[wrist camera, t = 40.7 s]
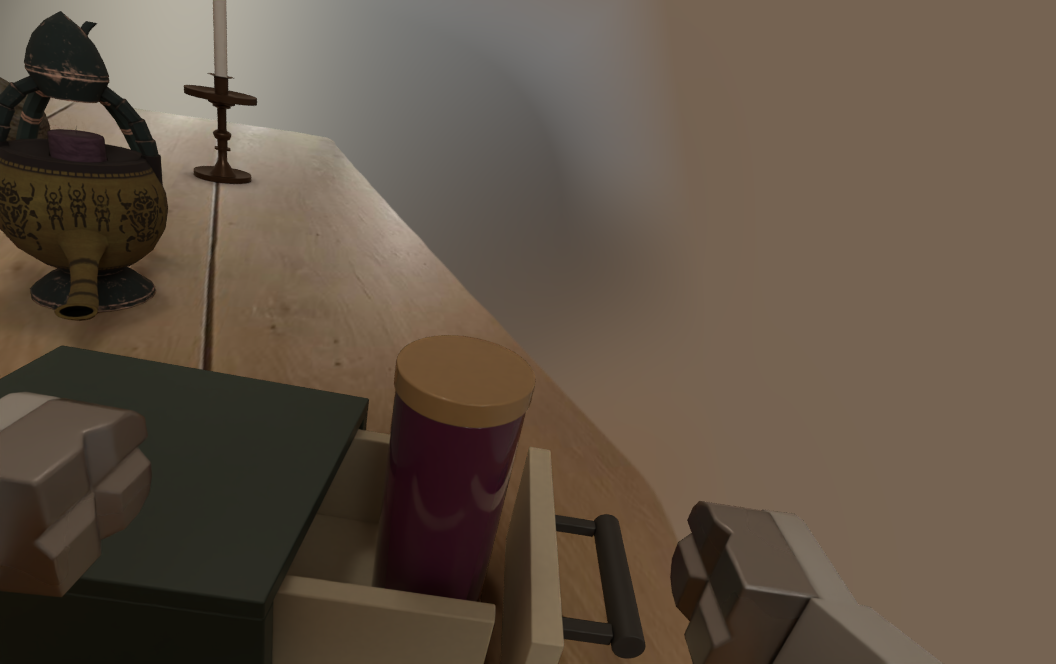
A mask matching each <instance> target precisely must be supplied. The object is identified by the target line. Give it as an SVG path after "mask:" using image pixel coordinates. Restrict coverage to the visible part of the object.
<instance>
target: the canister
mask: <svg viewBox="0 0 1056 664" xmlns="http://www.w3.org/2000/svg"><path fill="white" fill-rule="evenodd" d="M535 382H536V379H535V374H534V372H533V369H532V368H531V366H530V365H529V364H528V363H527V362H526V361H525V360H524V359H523V358H522V357H520V356H519V355H518V354H516V353H514V352H513V351H511V350H509V349H507V348H505V347H503V346H500V345H498V344H495V343H492V342H489V341H486V340H482V339H478V338H473V337H466V336H455V335H441V336H432V337H426V338H422V339H419V340H416V341H413V342H412V343H410V344H408V345H406V346H405V347H404V348H403V349H402V350H401V351H400V353H399V354H398V356H397V360H396V367H395V375H394V386H395V397H394V405H393V413H392V421H391V429H390V437H389V445H388V453H387V461H386V469H385V477H384V485H383V493H382V501H381V510H380V518H379V526H378V534H377V542H376V550H375V558H374V566H373V574H372V582H371V587H377V588H384V589H391V590H398V591H405V592H412V593H419V594H426V595H433V596H440V597H447V598H454V599H461V600H468V601H475V602H480V598H481V594H482V590H483V586H484V582H485V578H486V574H487V570H488V566H489V561H490V557H491V553H492V549H493V545H494V541H495V537H496V533H497V529H498V525H499V520H500V516H501V512H502V508H503V504H504V500H505V496H506V492H507V488H508V483H509V479H510V475H511V471H512V467H513V463H514V459H515V455H516V451H517V447H518V442H519V438H520V434H521V430H522V426H523V422H524V418H525V414H526V411H527V410H528V408H529V406H530V403H531V400H532V396H533V392H534V388H535Z"/></svg>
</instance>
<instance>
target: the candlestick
mask: <svg viewBox="0 0 1056 664" xmlns="http://www.w3.org/2000/svg"><path fill="white" fill-rule="evenodd" d="M213 20H214V21H213V23H214V24H213V25H214V62H215V63H214V65H215V74H212V73H209V74H211V75H213V76H214V88H211V87H204V86H196V85H184V93H186V94H188V95H191V96H195V97H198V98H203V99H207V100H208V101H209V102H211V103H212V104H213V106H215V107H217V114H218V129H217V130H215V131H214V132H213V135H214V137H215V138H216V139H217V142H218V146H215V149H216V150H218V159H219V160H218V162H217V163H216V164H215V166H200V167H195V168H194V175H195V176H196V177H198V178H200V179H204V180H208V181H213V182H219V183H230V184H243V183H249V182H251V174H249V173H247V172H245V171H241V170H237V169H233V168H231V166H230V165H229V163H228V162H227V151H230V148H228V147H227V140H230V138H231V133H229V132H228V131H227V129H226V109H230V108H231V106H235V104H238V105H248V106H254V105H255V106H256V105H257V98H255V97H253V96H250V95H246V94H242V93H238V92H233V91H228V79H231V78H233V77H228V76H227V30H226V29H227V25H226V24H227V22H226V0H213Z"/></svg>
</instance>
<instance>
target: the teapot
mask: <svg viewBox="0 0 1056 664" xmlns="http://www.w3.org/2000/svg"><path fill="white" fill-rule="evenodd" d="M96 24H97V23H93V22H87V21H86V22H85V23H84V24H83V25H82V27H81V28H80V27H79V26H78V25H77V24H75V23H74V22H73V21H72V20H71V19H69V18H68V17H67V16H66V15H65V14H63V13H62V12H61V11H60V12H58V13H56V14H54V15H52V16H51V17H49V18H47V19H45V20H44V21H43V22H42V23H41V24H40V25H39V26H38V27H37V28H36V29H35V31H34V32H33V33H32V34H31V37H30V40H29V42H28V45H27V48H26V53H25V59H24V63H25V69H26V70H27V72H28V73H29V75H30V76H28V77H26V78H23V79H21V80H19V81H17V82H15V83H13V82H10V83H9V85H8V86H7V87H6V88H5V89H4V91H3V92H2V93H1V94H0V229H1V230H2V231H3V232H4V233H5V235H6V236H7V237H8V238H9V239H10V240H11V241H12V242H13V243H14V244H15V245H16V246H17V247H18V248H19V249H21V250H23V251H24V252H26V253H28V254H29V255H31V256H33V257H35V258H36V259H38V260H40V261H42V262H43V263H45V264H47V265H50V266H53V267H57V269H55V270H53V271H51V272H50V273H48V274H47V275H45V276H44V277H43V278H41V279H40V280H38V281H37V282H36V283H35V284H34V285H33V286H32V287H31V288H30V291H31V296H32V300H34V301H35V302H36V303H38V304H39V305H41V306H45V307H48V308H51V309H55V314H56V315H57V316H58V317H61V318H64V319H68V320H78V321H82V320H88V319H91V318H93V317H95V316H96V314H97V312H103V311H114V310H119V309H124V308H129V307H133V306H136V305H139V304H142V303H144V302H146V301H148V300H149V299H150V298H152V297H153V296H154V293H155V286H154V284H153V282H152V281H150V280H149V279H147V278H146V277H144V276H142V275H141V274H139V273H137V272H136V271H134V270H132V269H130V268H128V267H127V266H130V265H132V264H134V263H136V262H138V261H139V260H140V259H142V258H143V257H144V256H146V255H147V254H148V253H149V252H151V251H152V250H153V249H154V248H155V246H156V244H157V242H158V241H159V239H160V237H161V236H162V234H163V232H164V230H165V228H166V221H167V213H168V204H167V197H166V192H165V190H164V188H163V184H162V169H161V156H160V155H159V154H158V150H157V146H156V141H155V140H154V139H153V138H152V136H151V134H150V131H149V129H148V127H147V124H146V122H145V120H144V119H142V118H141V117H140V116H139V115H138V114H137V112H136V111H135V110H134V109H133V107H132V106H131V105H130V104H129V103H128V101H127V100H126V99H123V98H121V97H120V96H119V95H117V94H116V93H115V92H114V91H112V90H111V89H110V88H108V87H107V85H108V83H109V78H108V77H109V75H108V72H107V69H106V67H105V64H104V62H103V60H102V58H101V56H100V54H99V52H98V50H97V48H96V47H95V45H94V44H93V42H92V41H91V40H90V39H89V38H88V34H89V32H90V30H91V29H92V28H93V27H94V26H95V25H96ZM27 94H28V96H27V98H26V100H25V102H24V105H23V109H22V113H21V117H20V120H19V125H18V130H17V135H16V140H11V141H7V140H6V139H7V137H8V134H9V132H10V129H11V126H10V122H11V120H12V117H13V115H14V113H15V109H14V107H15V106H17V105H18V104H19V103H20V102H21V101H22V100H23V99H24V98H25V97H26V95H27ZM50 98H55V99H60V100H66V101H74V102H83V103H97V102H100V103H101V104H102V105H103V106H104V107H105V108H106V109H107V110H108V112H109V113H110V114H111V115H112V117H113V118H114V119H115V121H116V122H117V124H118V126H119V128H120V130H121V131H122V133H123V135H124V137H125V139H126V141H127V143H128V145H129V147H130V149H131V150H130V149H126V148H122V147H117V146H112V145H106V144H105V140H104V137H103V136H101V135H99V134H95V133H90V132H85V131H77V130H64V129H55V130H49V131H47V135H48V139H37V137H38V132H39V128H40V124H41V121H42V117H43V114H44V110H45V108H46V106H47V104H48V102H49V100H50Z"/></svg>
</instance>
